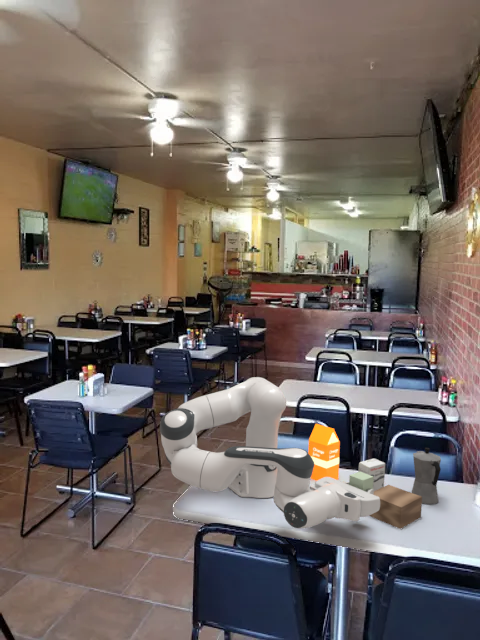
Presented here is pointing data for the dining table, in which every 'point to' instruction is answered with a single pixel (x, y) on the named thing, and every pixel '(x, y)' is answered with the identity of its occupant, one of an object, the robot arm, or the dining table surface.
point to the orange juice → (324, 452)
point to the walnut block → (397, 506)
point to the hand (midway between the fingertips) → (362, 487)
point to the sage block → (361, 481)
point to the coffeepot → (426, 476)
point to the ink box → (374, 471)
